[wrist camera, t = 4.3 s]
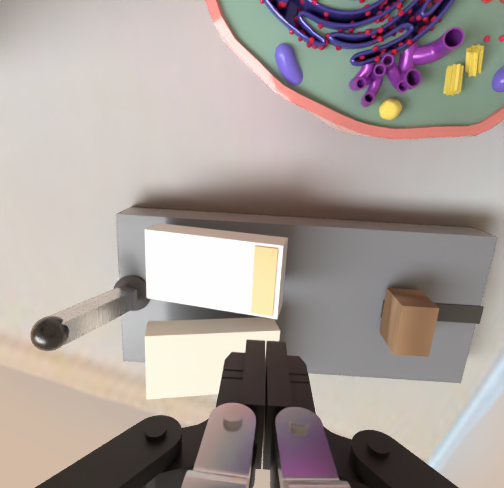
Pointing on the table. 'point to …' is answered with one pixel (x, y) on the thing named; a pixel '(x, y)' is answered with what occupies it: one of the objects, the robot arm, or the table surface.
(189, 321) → the block
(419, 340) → the slider knob
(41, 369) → the table surface
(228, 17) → the cell model
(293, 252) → the panel
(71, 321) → the toggle lever
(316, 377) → the table surface
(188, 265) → the rocker white
